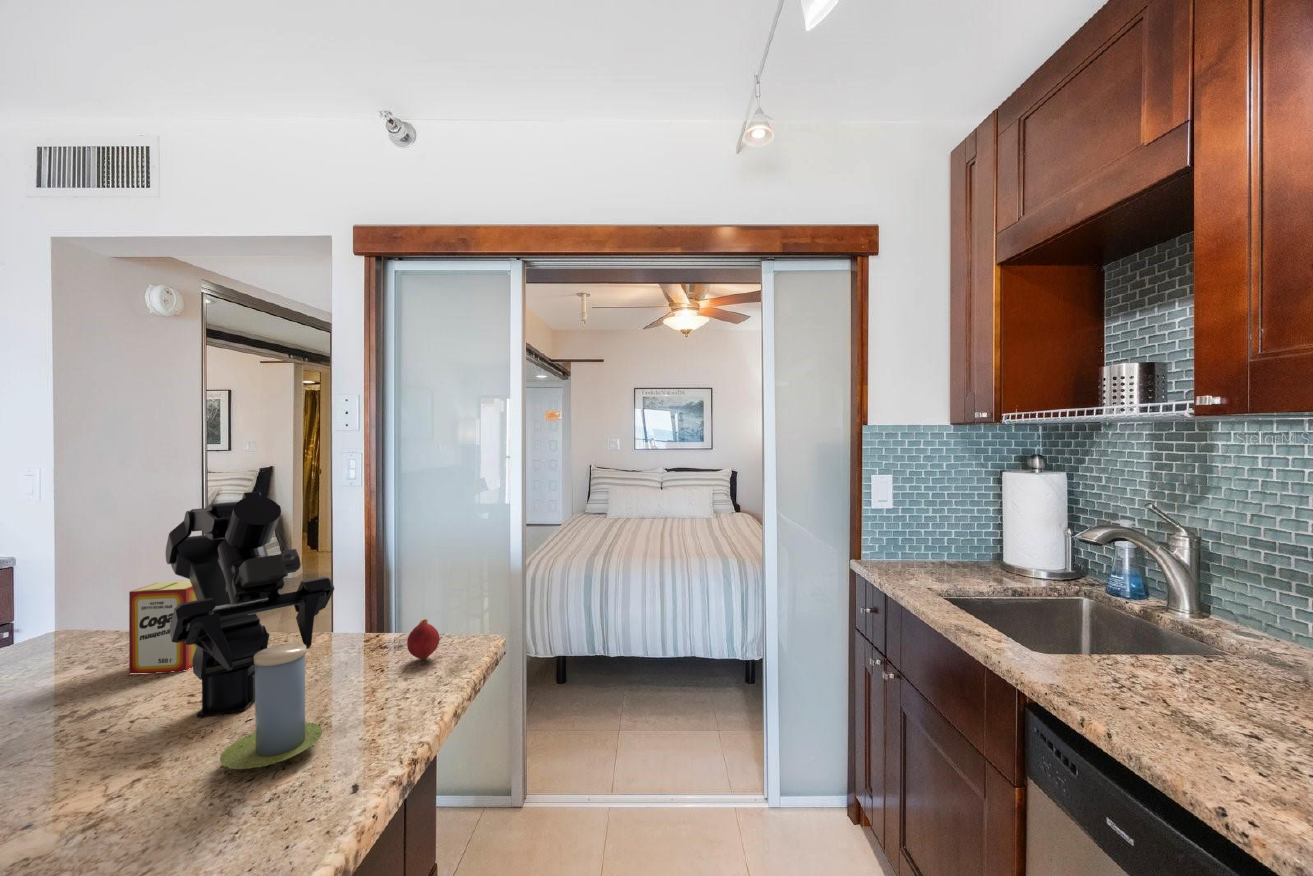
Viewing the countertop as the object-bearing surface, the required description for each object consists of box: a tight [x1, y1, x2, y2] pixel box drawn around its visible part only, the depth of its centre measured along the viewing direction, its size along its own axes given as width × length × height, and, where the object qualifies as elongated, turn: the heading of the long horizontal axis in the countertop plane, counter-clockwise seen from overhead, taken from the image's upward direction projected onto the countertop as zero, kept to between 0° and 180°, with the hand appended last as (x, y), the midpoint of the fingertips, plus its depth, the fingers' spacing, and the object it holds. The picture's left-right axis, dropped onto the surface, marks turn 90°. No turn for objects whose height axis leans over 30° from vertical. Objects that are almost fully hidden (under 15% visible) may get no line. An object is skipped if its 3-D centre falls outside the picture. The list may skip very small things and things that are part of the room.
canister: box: [254, 642, 307, 756], centre depth 72 cm, size 6×6×12 cm
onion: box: [406, 618, 441, 661], centre depth 104 cm, size 6×6×8 cm
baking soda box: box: [128, 580, 197, 674], centre depth 103 cm, size 10×6×16 cm
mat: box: [219, 721, 323, 770], centre depth 72 cm, size 11×11×2 cm
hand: (271, 657), depth 74 cm, fingers open, 9 cm apart
